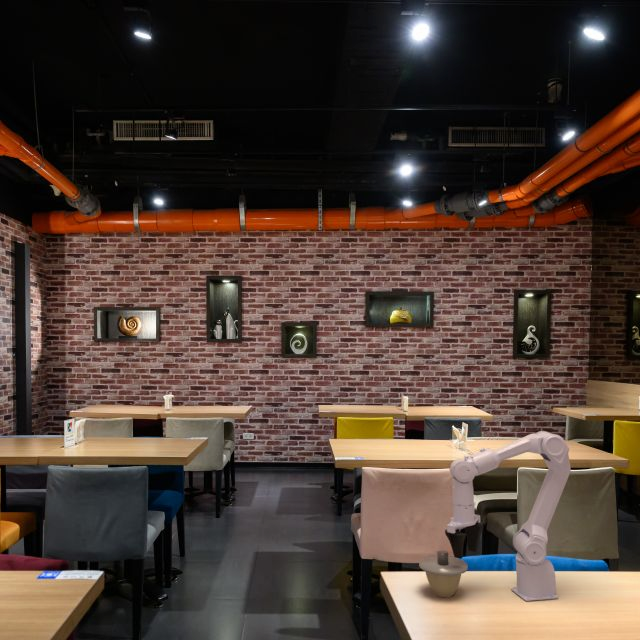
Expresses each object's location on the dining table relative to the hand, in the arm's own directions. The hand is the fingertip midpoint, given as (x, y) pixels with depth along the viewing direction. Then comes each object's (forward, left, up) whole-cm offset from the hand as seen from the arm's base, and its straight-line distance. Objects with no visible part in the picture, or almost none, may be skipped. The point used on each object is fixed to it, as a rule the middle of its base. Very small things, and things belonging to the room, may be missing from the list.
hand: (465, 554), depth 146 cm
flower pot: (+6, -1, -11) cm, 12 cm away
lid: (+6, -1, -3) cm, 7 cm away
